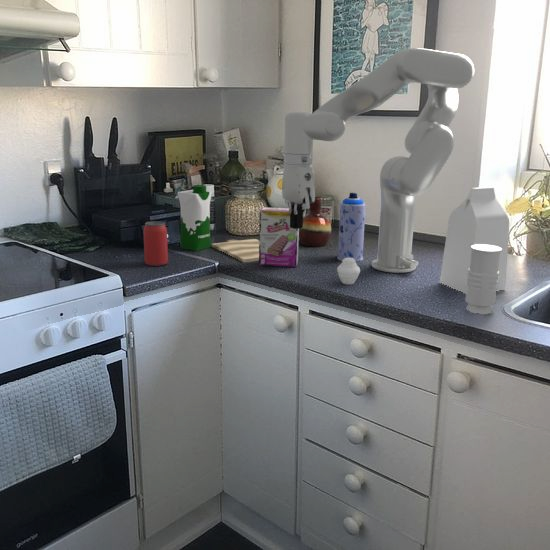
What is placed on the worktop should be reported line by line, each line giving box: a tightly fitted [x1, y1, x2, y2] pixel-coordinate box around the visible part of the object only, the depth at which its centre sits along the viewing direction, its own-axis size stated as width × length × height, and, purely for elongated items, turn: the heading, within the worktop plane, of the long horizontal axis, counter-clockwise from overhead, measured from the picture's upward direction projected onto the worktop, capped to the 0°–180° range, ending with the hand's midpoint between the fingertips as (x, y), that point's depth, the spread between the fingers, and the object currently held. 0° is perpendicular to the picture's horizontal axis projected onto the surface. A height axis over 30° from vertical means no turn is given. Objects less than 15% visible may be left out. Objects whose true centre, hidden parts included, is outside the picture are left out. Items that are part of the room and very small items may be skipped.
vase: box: [298, 196, 332, 247], centre depth 204 cm, size 11×11×15 cm
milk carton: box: [177, 184, 213, 252], centre depth 196 cm, size 9×9×20 cm
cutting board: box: [211, 238, 259, 263], centre depth 196 cm, size 24×16×1 cm, turn 31°
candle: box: [464, 244, 502, 315], centre depth 143 cm, size 7×7×15 cm
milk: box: [439, 186, 510, 295], centre depth 159 cm, size 12×12×26 cm
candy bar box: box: [258, 206, 300, 268], centre depth 178 cm, size 11×5×16 cm, turn 84°
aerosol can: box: [336, 192, 366, 263], centre depth 186 cm, size 8×8×20 cm
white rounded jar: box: [336, 257, 361, 285], centre depth 163 cm, size 6×6×7 cm
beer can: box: [142, 220, 169, 267], centre depth 178 cm, size 7×7×12 cm
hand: (296, 227), depth 170 cm, fingers closed
